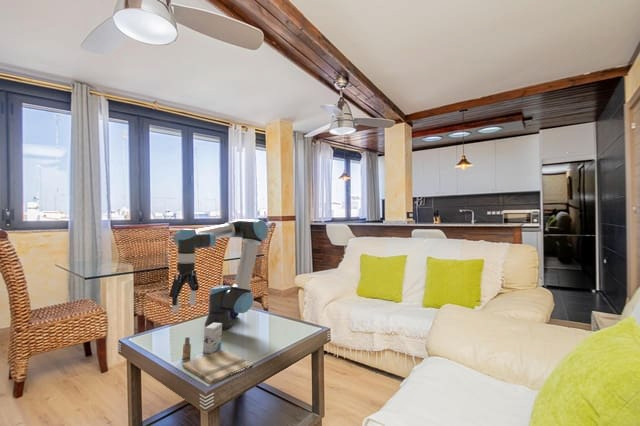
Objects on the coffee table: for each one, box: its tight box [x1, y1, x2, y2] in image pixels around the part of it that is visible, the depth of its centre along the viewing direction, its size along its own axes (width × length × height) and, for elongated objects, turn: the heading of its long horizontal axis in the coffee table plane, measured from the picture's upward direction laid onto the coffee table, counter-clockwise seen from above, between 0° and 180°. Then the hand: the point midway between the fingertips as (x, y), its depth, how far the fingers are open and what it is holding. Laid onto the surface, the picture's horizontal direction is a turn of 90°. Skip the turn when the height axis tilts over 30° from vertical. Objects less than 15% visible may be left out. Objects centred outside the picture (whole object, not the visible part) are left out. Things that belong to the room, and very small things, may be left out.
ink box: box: [202, 323, 223, 355], centre depth 154 cm, size 9×5×12 cm, turn 168°
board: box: [182, 349, 253, 384], centre depth 137 cm, size 20×21×1 cm
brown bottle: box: [182, 336, 192, 361], centre depth 144 cm, size 3×3×9 cm
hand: (184, 308), depth 149 cm, fingers open, 13 cm apart
